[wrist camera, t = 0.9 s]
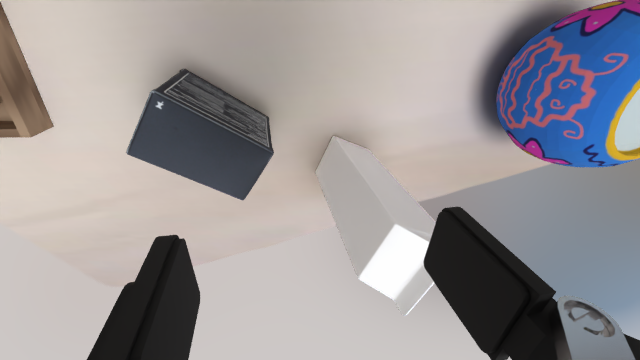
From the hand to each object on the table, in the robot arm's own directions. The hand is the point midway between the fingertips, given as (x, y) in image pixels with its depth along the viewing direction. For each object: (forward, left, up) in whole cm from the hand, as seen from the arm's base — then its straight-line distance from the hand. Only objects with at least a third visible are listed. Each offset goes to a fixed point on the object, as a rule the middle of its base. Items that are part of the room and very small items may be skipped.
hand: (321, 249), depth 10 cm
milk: (+9, +9, -26) cm, 29 cm away
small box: (+3, -7, -26) cm, 27 cm away
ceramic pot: (-3, +35, -26) cm, 44 cm away
